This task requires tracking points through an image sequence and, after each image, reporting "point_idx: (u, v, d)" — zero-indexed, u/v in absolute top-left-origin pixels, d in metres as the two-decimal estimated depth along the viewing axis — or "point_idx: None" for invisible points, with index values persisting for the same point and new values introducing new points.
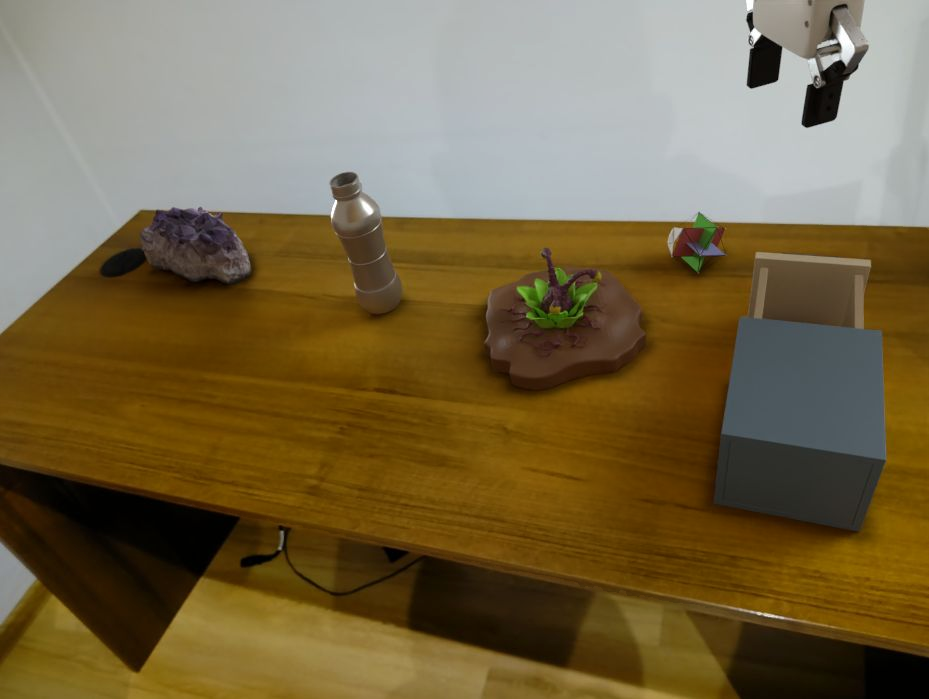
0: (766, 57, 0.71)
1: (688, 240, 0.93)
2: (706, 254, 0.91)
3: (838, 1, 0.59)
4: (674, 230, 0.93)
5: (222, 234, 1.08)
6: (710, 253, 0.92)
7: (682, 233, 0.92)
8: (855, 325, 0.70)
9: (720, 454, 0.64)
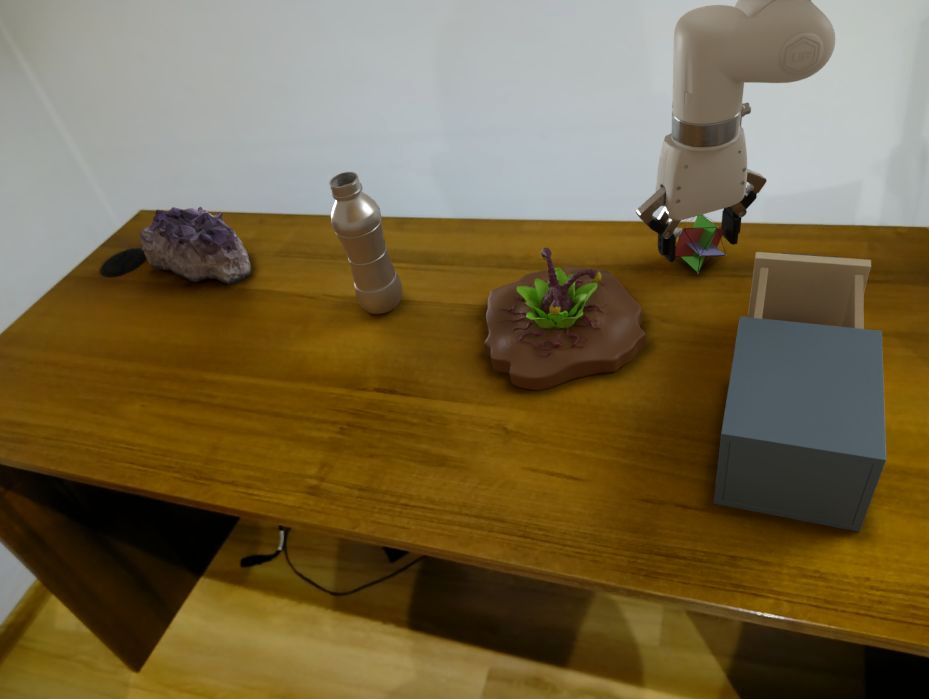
0: None
1: (688, 240, 0.93)
2: (706, 254, 0.91)
3: None
4: None
5: (222, 234, 1.08)
6: (710, 253, 0.92)
7: (682, 233, 0.92)
8: (855, 325, 0.70)
9: (720, 454, 0.64)
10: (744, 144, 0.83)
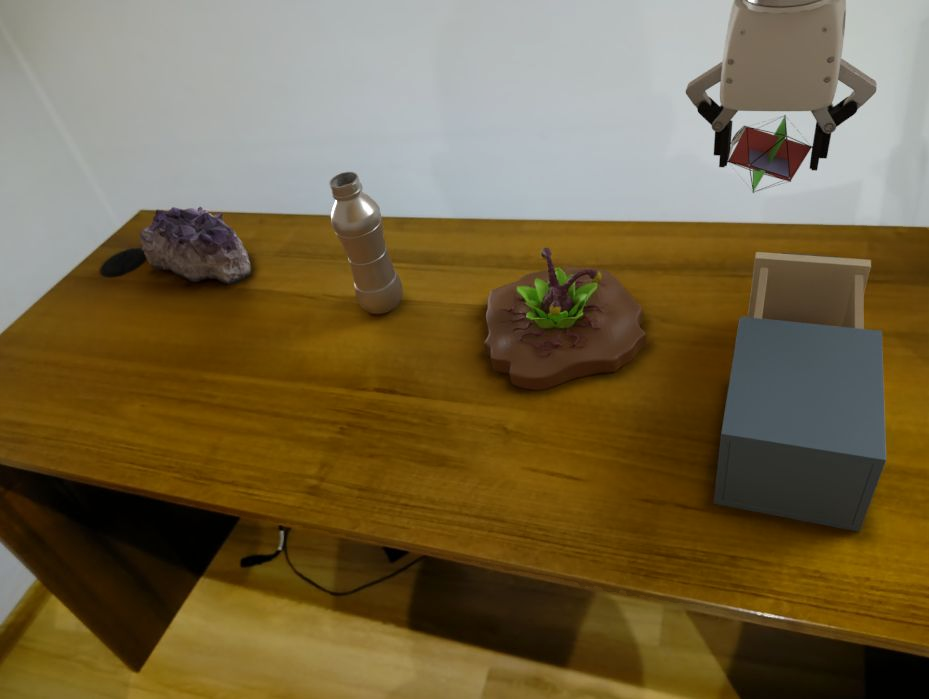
0: (729, 135, 0.73)
1: (753, 146, 0.73)
2: (760, 167, 0.71)
3: (841, 52, 0.64)
4: (741, 128, 0.73)
5: (222, 234, 1.08)
6: (769, 168, 0.71)
7: (745, 133, 0.72)
8: (855, 325, 0.70)
9: (720, 454, 0.64)
10: (834, 20, 0.61)
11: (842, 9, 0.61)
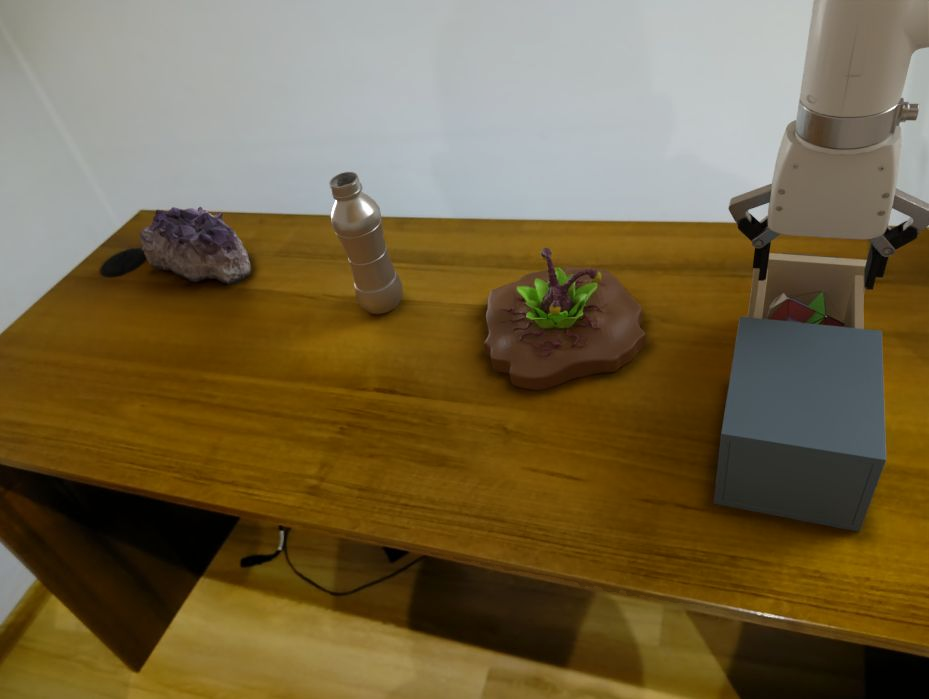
0: None
1: (791, 315, 0.77)
2: None
3: None
4: (781, 296, 0.77)
5: (222, 234, 1.08)
6: None
7: (785, 303, 0.76)
8: (855, 325, 0.70)
9: (720, 454, 0.64)
10: (891, 160, 0.60)
11: (899, 148, 0.60)
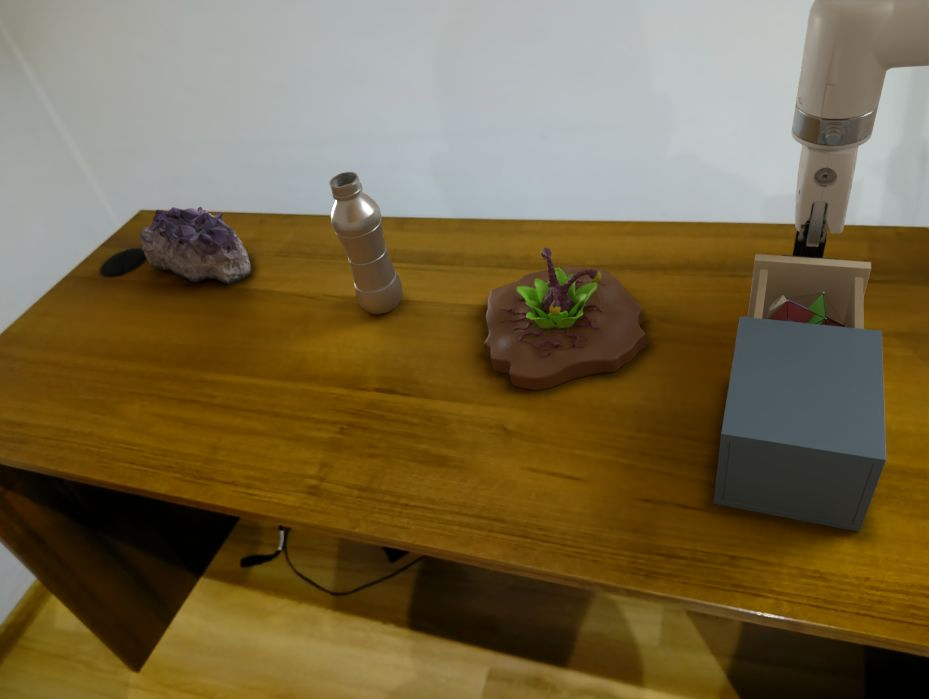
0: None
1: (790, 317, 0.76)
2: None
3: (819, 199, 0.74)
4: (781, 298, 0.77)
5: (222, 234, 1.08)
6: None
7: (785, 305, 0.76)
8: None
9: (720, 454, 0.64)
10: (805, 163, 0.73)
11: (817, 161, 0.72)
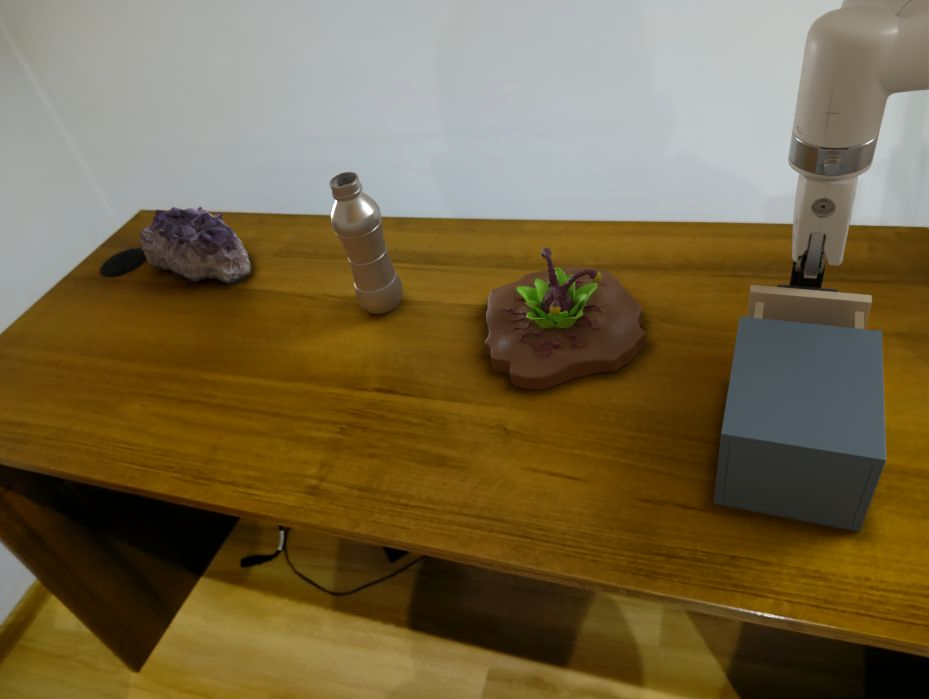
0: None
1: None
2: None
3: (817, 230, 0.71)
4: None
5: (222, 234, 1.08)
6: None
7: None
8: None
9: (720, 454, 0.64)
10: (803, 192, 0.70)
11: (815, 191, 0.69)
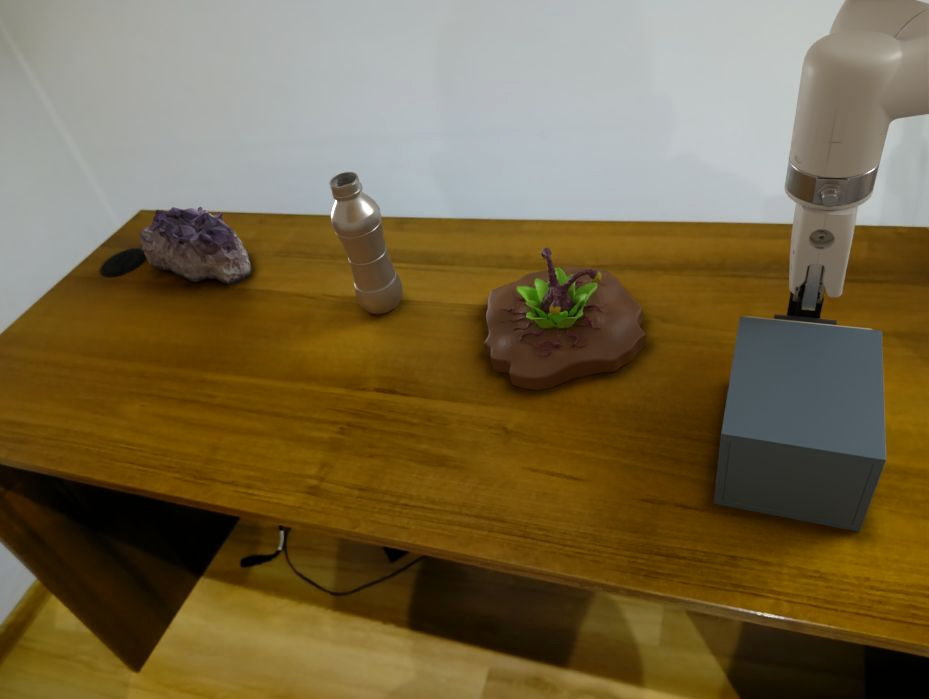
0: None
1: None
2: None
3: (815, 261, 0.68)
4: None
5: (222, 234, 1.08)
6: None
7: None
8: None
9: (720, 454, 0.64)
10: (800, 223, 0.67)
11: (813, 222, 0.66)
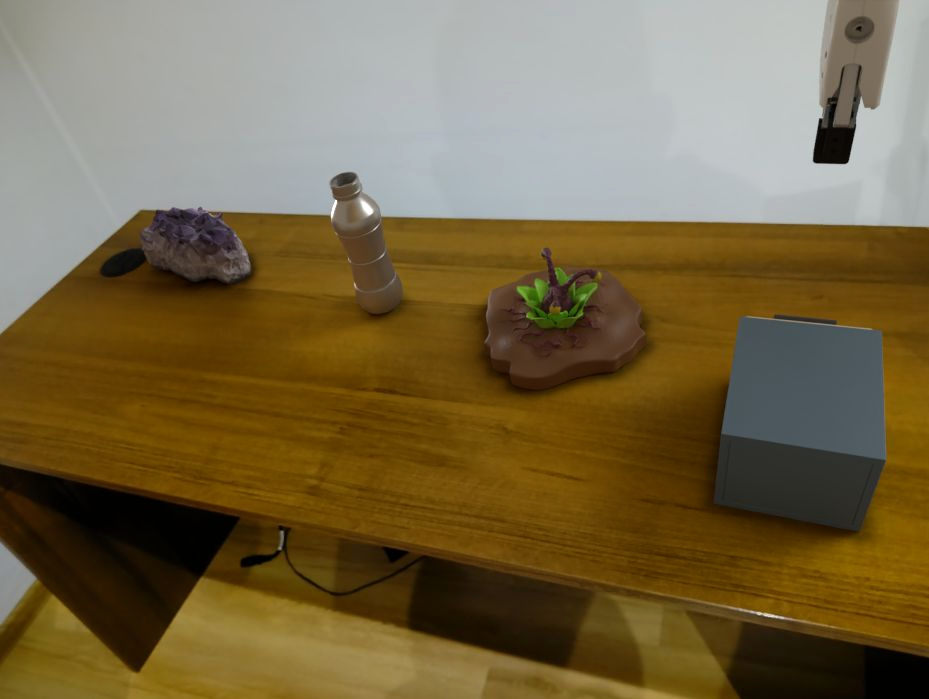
0: None
1: None
2: None
3: (851, 60, 0.60)
4: None
5: (222, 234, 1.08)
6: None
7: None
8: None
9: (720, 454, 0.64)
10: (834, 13, 0.59)
11: (850, 8, 0.58)
